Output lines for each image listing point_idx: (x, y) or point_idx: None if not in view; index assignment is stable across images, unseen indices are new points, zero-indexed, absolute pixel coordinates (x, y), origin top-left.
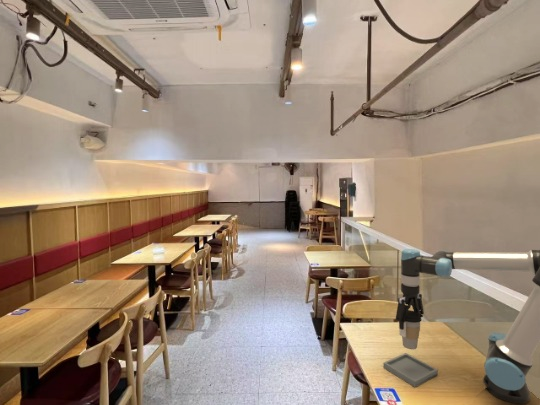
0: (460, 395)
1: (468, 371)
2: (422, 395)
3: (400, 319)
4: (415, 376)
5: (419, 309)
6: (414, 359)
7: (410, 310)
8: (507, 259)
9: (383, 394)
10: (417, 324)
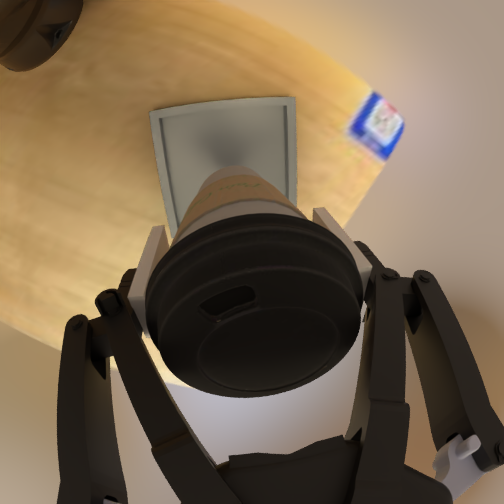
0: (187, 12)
1: (49, 101)
2: (302, 63)
3: (439, 286)
4: (246, 127)
5: (118, 369)
6: (171, 196)
7: (191, 385)
8: None
9: (389, 130)
10: (263, 211)
